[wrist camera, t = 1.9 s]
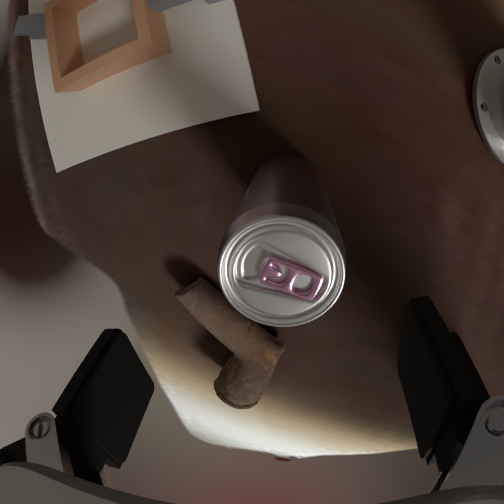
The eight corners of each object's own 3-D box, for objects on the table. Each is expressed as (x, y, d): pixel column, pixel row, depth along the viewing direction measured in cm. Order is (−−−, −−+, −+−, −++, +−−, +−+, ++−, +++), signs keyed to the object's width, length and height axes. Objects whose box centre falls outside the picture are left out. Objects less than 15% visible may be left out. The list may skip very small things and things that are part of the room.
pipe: (191, 284, 27) (131, 343, 29) (311, 382, 31) (245, 423, 33) (202, 257, 33) (148, 312, 35) (304, 347, 37) (246, 387, 39)
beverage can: (305, 228, 28) (313, 344, 15) (243, 204, 28) (198, 304, 14) (332, 169, 25) (375, 244, 12) (267, 143, 25) (238, 189, 12)
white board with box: (207, -94, 14) (194, -117, 9) (259, 110, 24) (253, 111, 20) (32, -6, 18) (5, -11, 14) (61, 170, 28) (32, 183, 24)
